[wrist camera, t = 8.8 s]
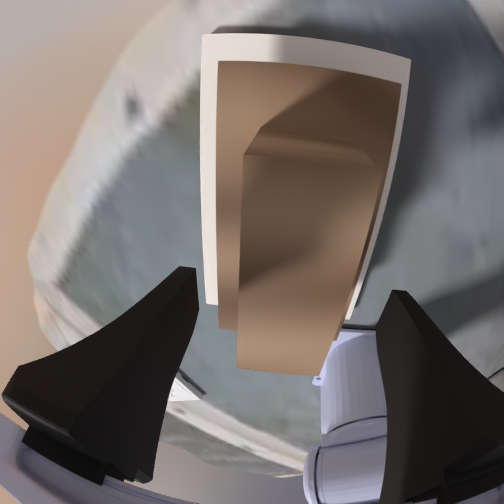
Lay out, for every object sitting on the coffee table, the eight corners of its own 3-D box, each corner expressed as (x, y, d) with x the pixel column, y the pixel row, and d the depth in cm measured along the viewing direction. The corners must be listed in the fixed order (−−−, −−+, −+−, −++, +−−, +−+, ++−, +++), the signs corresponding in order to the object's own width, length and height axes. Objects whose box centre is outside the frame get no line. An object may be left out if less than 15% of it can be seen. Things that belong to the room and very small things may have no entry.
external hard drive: (106, 363, 37) (167, 356, 32) (141, 394, 40) (204, 391, 36) (101, 372, 35) (162, 366, 31) (138, 402, 39) (201, 401, 35)
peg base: (348, 311, 24) (353, 347, 21) (209, 295, 25) (197, 330, 22) (405, 60, 13) (432, 57, 10) (207, 36, 14) (184, 27, 11)
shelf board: (335, 328, 20) (340, 404, 15) (222, 315, 21) (201, 390, 15) (393, 83, 11) (457, 92, 6) (223, 62, 12) (175, 52, 6)
